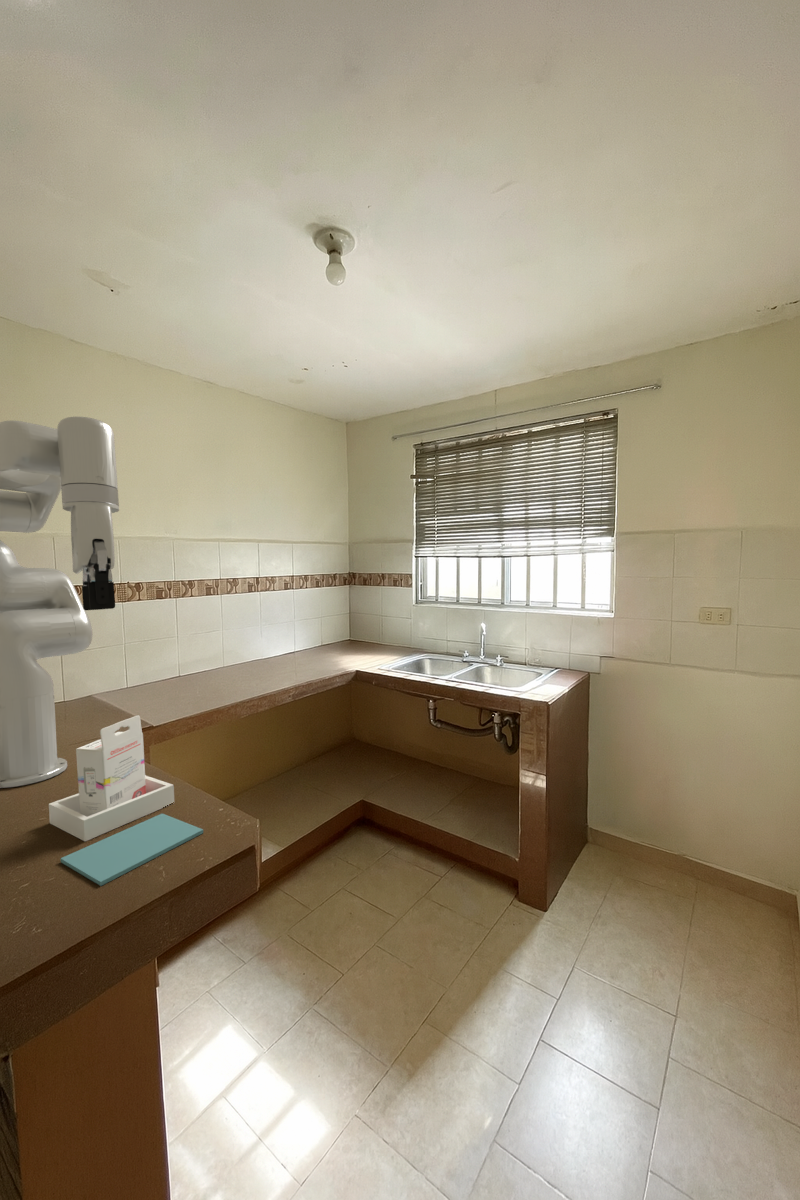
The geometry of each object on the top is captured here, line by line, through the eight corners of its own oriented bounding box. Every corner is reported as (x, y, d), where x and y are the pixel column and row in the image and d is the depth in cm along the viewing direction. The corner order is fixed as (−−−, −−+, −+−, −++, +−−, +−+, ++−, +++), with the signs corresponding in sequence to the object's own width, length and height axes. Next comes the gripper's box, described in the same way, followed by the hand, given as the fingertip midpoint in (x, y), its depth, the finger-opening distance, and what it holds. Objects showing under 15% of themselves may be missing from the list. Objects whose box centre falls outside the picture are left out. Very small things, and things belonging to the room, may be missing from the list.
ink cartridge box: (121, 799, 81) (117, 712, 81) (147, 801, 80) (143, 713, 80) (78, 825, 73) (73, 728, 72) (106, 827, 72) (101, 729, 71)
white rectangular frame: (49, 823, 74) (48, 803, 74) (138, 789, 85) (137, 772, 85) (85, 841, 68) (83, 820, 68) (174, 802, 80) (173, 784, 79)
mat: (60, 862, 63) (60, 858, 63) (162, 816, 75) (162, 813, 75) (100, 886, 58) (100, 881, 58) (203, 832, 70) (203, 829, 70)
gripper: (58, 508, 81) (66, 611, 81) (66, 487, 67) (74, 610, 67) (110, 511, 85) (117, 608, 86) (127, 491, 72) (135, 607, 72)
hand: (98, 609), depth 76 cm, fingers open, 9 cm apart
